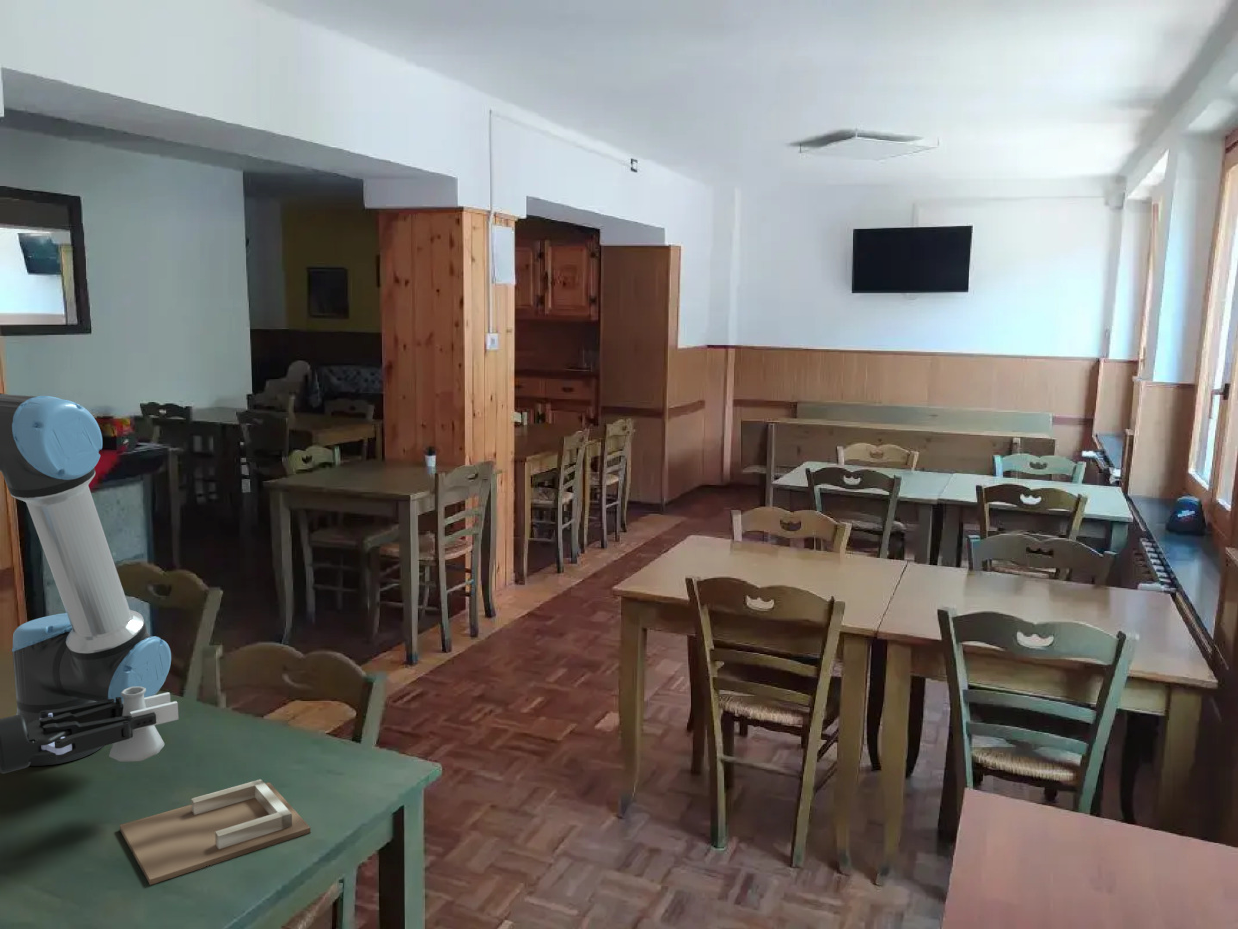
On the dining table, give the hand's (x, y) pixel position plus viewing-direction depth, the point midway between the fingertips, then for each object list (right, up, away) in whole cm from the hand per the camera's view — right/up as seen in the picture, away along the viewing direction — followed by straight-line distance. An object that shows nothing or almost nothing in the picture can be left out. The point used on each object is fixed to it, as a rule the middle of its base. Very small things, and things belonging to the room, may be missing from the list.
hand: (173, 705), depth 146 cm
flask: (-4, -7, -2) cm, 8 cm away
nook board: (+9, -17, -7) cm, 20 cm away
